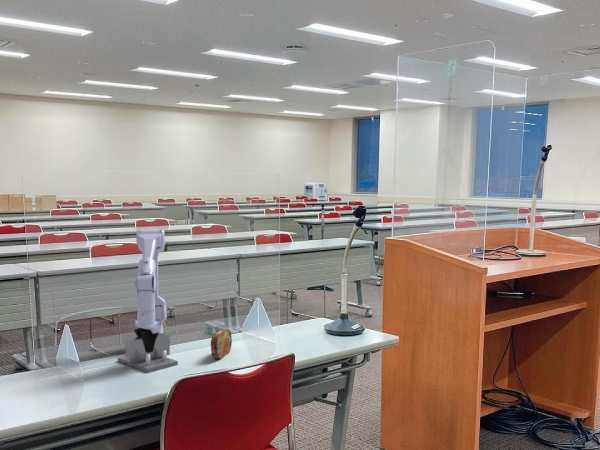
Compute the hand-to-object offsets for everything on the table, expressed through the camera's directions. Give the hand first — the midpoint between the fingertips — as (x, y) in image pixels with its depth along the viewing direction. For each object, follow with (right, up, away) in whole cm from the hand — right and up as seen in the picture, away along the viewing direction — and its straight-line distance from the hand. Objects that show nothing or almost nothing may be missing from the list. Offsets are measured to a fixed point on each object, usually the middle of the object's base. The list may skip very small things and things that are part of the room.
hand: (147, 350), depth 178 cm
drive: (0, -2, 0) cm, 2 cm away
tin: (+24, -4, +8) cm, 25 cm away
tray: (0, -4, 0) cm, 4 cm away
